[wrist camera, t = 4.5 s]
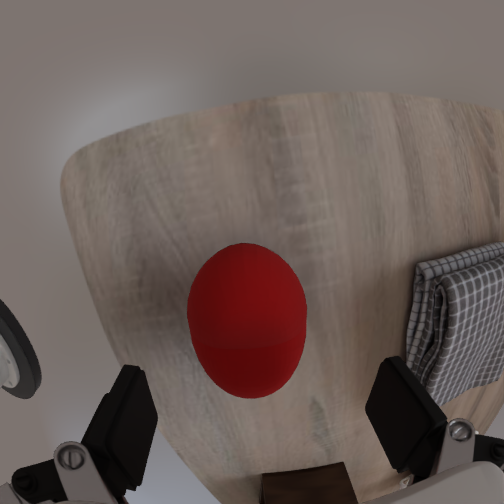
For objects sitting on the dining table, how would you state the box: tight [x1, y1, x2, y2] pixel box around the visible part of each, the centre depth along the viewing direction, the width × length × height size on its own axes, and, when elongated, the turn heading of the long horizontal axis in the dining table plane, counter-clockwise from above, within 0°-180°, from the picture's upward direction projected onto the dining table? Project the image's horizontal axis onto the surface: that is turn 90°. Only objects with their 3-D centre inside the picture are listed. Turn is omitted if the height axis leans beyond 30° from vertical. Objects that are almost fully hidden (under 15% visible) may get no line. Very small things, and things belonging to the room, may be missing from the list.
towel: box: [406, 241, 504, 406], centre depth 21 cm, size 15×18×8 cm
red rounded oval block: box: [187, 243, 307, 398], centre depth 17 cm, size 9×7×10 cm
